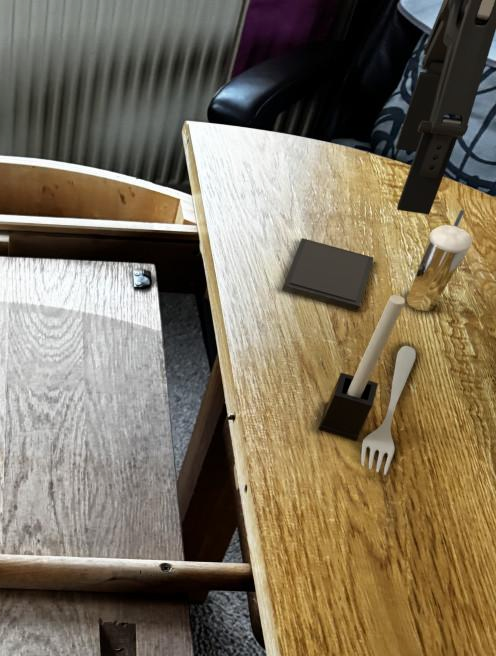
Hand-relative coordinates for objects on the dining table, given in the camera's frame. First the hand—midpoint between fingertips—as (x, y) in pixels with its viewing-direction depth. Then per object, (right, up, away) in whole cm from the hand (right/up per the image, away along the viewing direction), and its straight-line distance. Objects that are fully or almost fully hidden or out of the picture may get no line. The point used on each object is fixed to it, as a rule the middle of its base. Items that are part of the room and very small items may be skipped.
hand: (411, 179), depth 86 cm
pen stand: (-3, -20, +10) cm, 23 cm away
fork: (+3, -19, +12) cm, 22 cm away
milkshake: (+11, -3, +24) cm, 27 cm away
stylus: (-3, -20, +10) cm, 22 cm away
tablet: (+1, +1, +26) cm, 26 cm away
